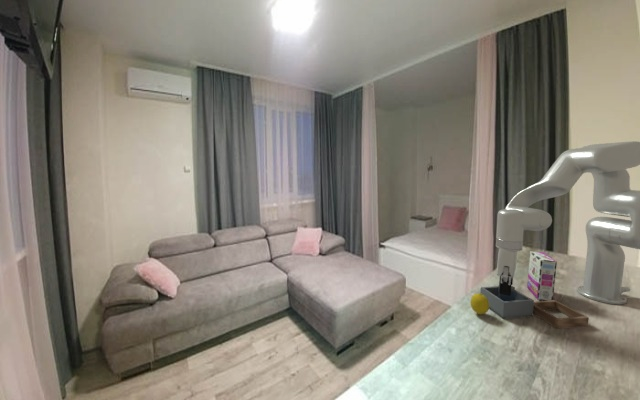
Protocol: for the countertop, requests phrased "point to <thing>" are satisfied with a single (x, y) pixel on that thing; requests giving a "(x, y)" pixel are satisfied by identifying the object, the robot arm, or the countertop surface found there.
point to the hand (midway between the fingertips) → (506, 288)
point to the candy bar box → (541, 276)
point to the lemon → (479, 303)
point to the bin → (508, 304)
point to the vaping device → (506, 297)
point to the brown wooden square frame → (574, 316)
